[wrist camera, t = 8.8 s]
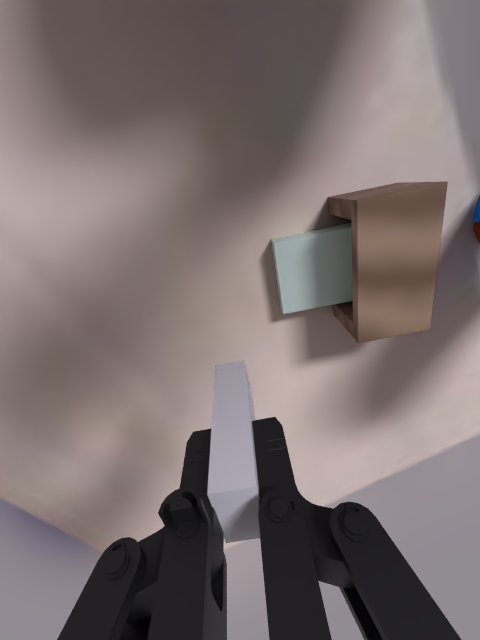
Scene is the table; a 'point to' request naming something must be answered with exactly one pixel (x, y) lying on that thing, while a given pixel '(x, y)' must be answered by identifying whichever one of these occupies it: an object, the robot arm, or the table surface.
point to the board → (314, 268)
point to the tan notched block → (391, 257)
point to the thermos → (477, 220)
